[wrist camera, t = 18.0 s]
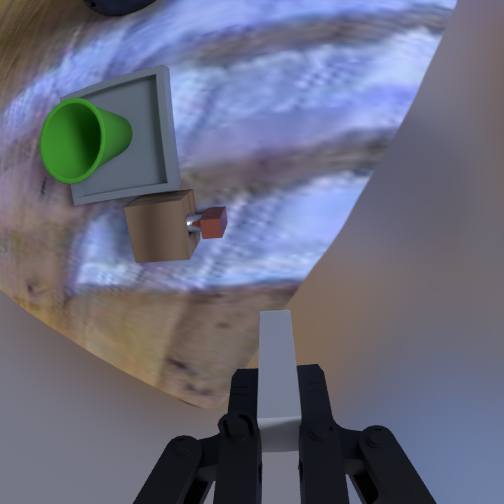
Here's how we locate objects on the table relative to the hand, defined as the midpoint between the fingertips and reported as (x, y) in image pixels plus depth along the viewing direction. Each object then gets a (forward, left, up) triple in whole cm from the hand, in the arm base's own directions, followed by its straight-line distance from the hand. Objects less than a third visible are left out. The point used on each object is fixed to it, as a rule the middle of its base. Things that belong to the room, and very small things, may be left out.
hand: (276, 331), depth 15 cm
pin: (0, -10, -23) cm, 25 cm away
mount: (0, -13, -24) cm, 28 cm away
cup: (-12, -19, -24) cm, 33 cm away
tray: (-12, -19, -24) cm, 33 cm away
